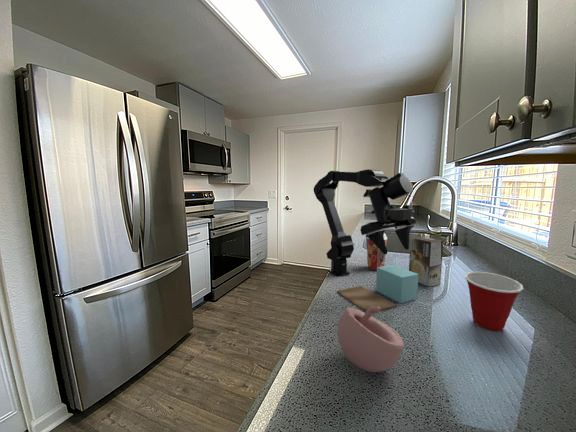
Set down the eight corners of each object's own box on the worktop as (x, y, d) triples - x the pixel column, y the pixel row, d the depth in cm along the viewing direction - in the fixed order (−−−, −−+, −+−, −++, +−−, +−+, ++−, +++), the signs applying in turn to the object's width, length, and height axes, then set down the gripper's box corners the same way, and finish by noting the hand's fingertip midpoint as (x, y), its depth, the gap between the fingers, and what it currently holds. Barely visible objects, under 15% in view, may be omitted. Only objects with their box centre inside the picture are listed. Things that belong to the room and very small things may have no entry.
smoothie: (389, 271, 97) (391, 224, 95) (369, 271, 97) (371, 224, 95) (381, 265, 105) (383, 221, 103) (362, 265, 105) (364, 221, 103)
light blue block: (375, 290, 79) (376, 267, 78) (391, 286, 82) (392, 264, 81) (400, 303, 70) (402, 277, 69) (416, 298, 73) (418, 274, 72)
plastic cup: (465, 330, 56) (469, 282, 55) (457, 310, 66) (461, 269, 65) (526, 344, 51) (532, 291, 50) (508, 320, 61) (513, 275, 60)
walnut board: (337, 292, 77) (337, 290, 77) (360, 287, 81) (360, 285, 81) (369, 314, 64) (369, 312, 64) (396, 306, 68) (396, 305, 68)
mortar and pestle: (417, 382, 41) (421, 321, 40) (354, 395, 38) (357, 329, 37) (377, 340, 53) (379, 291, 51) (327, 347, 50) (328, 296, 49)
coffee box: (441, 284, 84) (445, 240, 82) (428, 287, 82) (431, 242, 80) (419, 275, 92) (422, 236, 91) (407, 277, 90) (409, 237, 89)
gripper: (377, 198, 66) (394, 252, 62) (422, 193, 73) (440, 242, 70) (353, 210, 76) (367, 258, 72) (395, 205, 83) (409, 248, 80)
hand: (396, 251), depth 73 cm, fingers open, 9 cm apart
